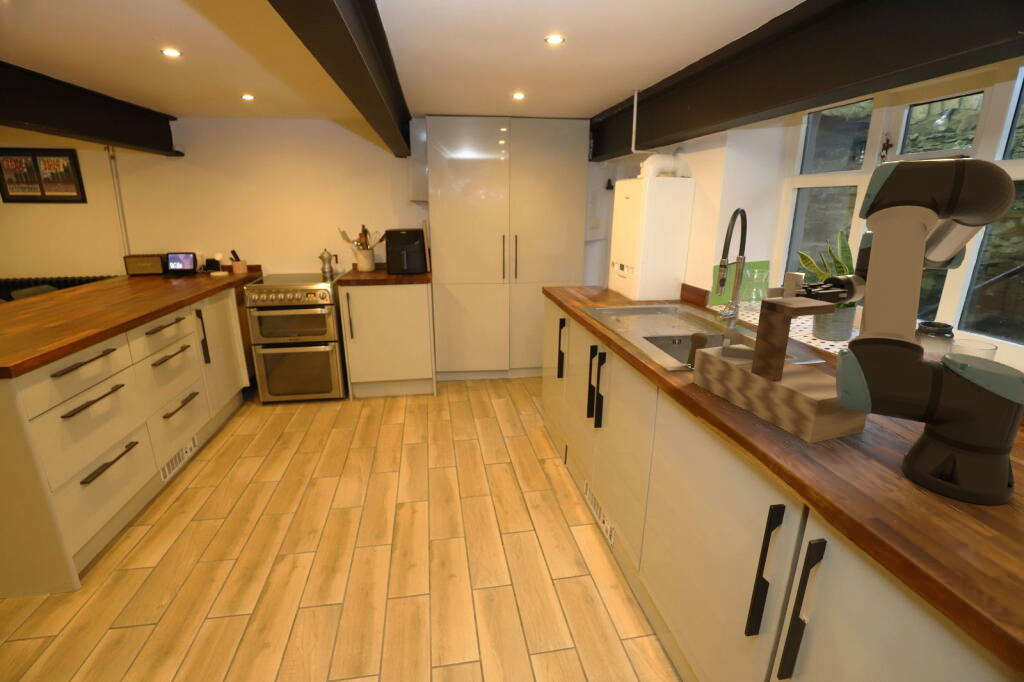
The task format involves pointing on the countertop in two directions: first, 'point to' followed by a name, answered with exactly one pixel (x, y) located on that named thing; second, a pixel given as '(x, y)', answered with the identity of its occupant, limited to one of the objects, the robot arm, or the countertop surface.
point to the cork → (696, 346)
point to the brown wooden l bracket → (780, 332)
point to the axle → (793, 283)
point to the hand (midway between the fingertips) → (776, 294)
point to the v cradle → (731, 353)
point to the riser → (782, 397)
